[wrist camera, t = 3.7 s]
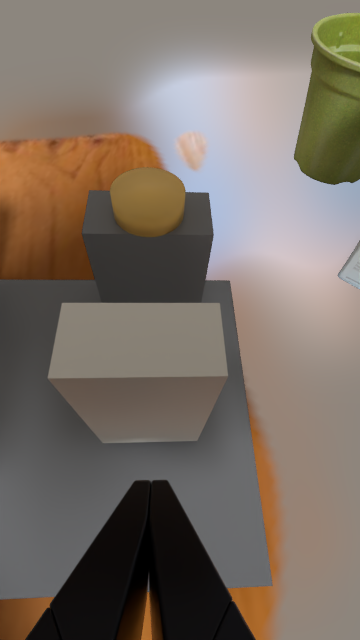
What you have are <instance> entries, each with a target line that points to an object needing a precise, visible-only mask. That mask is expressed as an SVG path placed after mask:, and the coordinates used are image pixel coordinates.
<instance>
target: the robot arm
mask: <svg viewBox="0 0 360 640" xmlns="http://www.w3.org/2000/svg"><path fill="white" fill-rule="evenodd" d="M148 580H149V598H150V613H151V628H152V640H256V639H255V637H254V636H253V634H252V632H251V631H250V629H249V627H248V625H247V624H246V622H245V620H244V618H243V616H242V615H241V613H240V611H239V609H238V607H237V605H236V604H235V602H234V601H232V597H231V595H230V593H229V591H228V589H227V588H226V586H225V584H224V582H223V580H222V578H221V577H220V575H219V573H218V571H217V569H216V567H215V566H214V564H213V562H212V560H211V558H210V556H209V554H208V553H207V551H206V549H205V547H204V545H203V543H202V542H201V540H200V538H199V536H198V534H197V532H196V531H195V529H194V527H193V525H192V523H191V521H190V520H189V518H188V516H187V514H186V512H185V510H184V509H183V507H182V505H181V503H180V501H179V499H178V498H177V496H176V494H175V492H174V490H173V488H172V487H171V485H170V483H169V481H168V480H153V481H152V482H151V481H150V480H135V481H134V482H133V483H132V485H131V486H130V488H129V489H128V491H127V492H126V494H125V495H124V497H123V498H122V499H121V501H120V502H119V504H118V505H117V507H116V508H115V510H114V511H113V513H112V514H111V516H110V517H109V518H108V520H107V521H106V523H105V524H104V526H103V527H102V529H101V530H100V532H99V533H98V535H97V536H96V537H95V539H94V540H93V542H92V543H91V545H90V546H89V548H88V549H87V551H86V552H85V554H84V555H83V556H82V558H81V559H80V561H79V562H78V564H77V565H76V567H75V568H74V570H73V571H72V573H71V574H70V575H69V577H68V578H67V580H66V581H65V583H64V584H63V586H62V587H61V589H60V590H59V592H58V593H57V594H56V596H55V597H54V599H53V600H52V602H51V603H50V608H47V609H46V610H45V612H44V613H43V615H42V616H41V618H40V619H39V621H38V622H37V623H36V625H35V626H34V628H33V629H32V631H31V632H30V634H29V635H28V636H27V638H26V639H25V640H141V636H142V629H143V621H144V614H145V607H146V600H147V592H148Z"/></svg>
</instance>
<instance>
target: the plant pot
mask: <svg viewBox="0 0 360 640" xmlns="http://www.w3.org/2000/svg"><path fill="white" fill-rule="evenodd" d="M311 40H312V42H313V45H314V50H313V54H312V59H311V68H312V73H311V78H310V83H309V88H308V93H307V98H306V103H305V107H304V112H303V117H302V121H301V126H300V131H299V135H298V140H297V144H296V149H295V154H294V159H295V160H296V161H297V162H298V164H299V167H300V169H301V171H302V172H303V173H304V174H306V175H307V176H309V177H311V178H312V179H315V180H317V181H320V182H323V183H327V184H333V185H335V184H339V183H342V182H350V183H353V182H355V181H357V180H359V179H360V13H346V14H339V15H334V16H329V17H326V18H324V19H322V20H320V21H319V22H317V23H316V24H315V25H314V27H313V30H312V34H311Z"/></svg>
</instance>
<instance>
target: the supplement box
mask: <svg viewBox="0 0 360 640" xmlns="http://www.w3.org/2000/svg"><path fill="white" fill-rule="evenodd" d="M338 277H339V278H341V279H342V280H344V281H346V282H348V283H349V284H351V285H353V286H355V287H357V288H358V289H360V241H359V243H358V244H357V246H356V248H355V249H354V251H353V252H352V254H351V255H350V257H349V259H348V260H347V262H346V263H345V265H344V266H343V268H342V269H341V271H340V272H339V274H338Z"/></svg>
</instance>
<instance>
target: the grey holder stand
mask: <svg viewBox="0 0 360 640" xmlns="http://www.w3.org/2000/svg"><path fill="white" fill-rule="evenodd" d="M82 236H83V240H84V243H85V247H86V250H87V254H88V257H89V260H90V264H91V267H92V271H93V274H94V278H95V280H0V599H19V598H39V597H55V596H56V594H57V593H58V592H59V590H60V589H61V587H62V586H63V584H64V583H65V581H66V580H67V578H68V577H69V575H70V574H71V573H72V571H73V570H74V568H75V567H76V565H77V564H78V562H79V561H80V559H81V558H82V556H83V555H84V554H85V552H86V551H87V549H88V548H89V546H90V545H91V543H92V542H93V540H94V539H95V537H96V536H97V535H98V533H99V532H100V530H101V529H102V527H103V526H104V524H105V523H106V521H107V520H108V518H109V517H110V516H111V514H112V513H113V511H114V510H115V508H116V507H117V505H118V504H119V502H120V501H121V499H122V498H123V497H124V495H125V494H126V492H127V491H128V489H129V488H130V486H131V485H132V483H133V482H134V481H135V480H150V481H151V482H152V481H153V480H168V481H169V483H170V485H171V487H172V488H173V490H174V492H175V494H176V496H177V498H178V499H179V501H180V503H181V505H182V507H183V509H184V510H185V512H186V514H187V516H188V518H189V520H190V521H191V523H192V525H193V527H194V529H195V531H196V532H197V534H198V536H199V538H200V540H201V542H202V543H203V545H204V547H205V549H206V551H207V553H208V554H209V556H210V558H211V560H212V562H213V564H214V566H215V567H216V569H217V571H218V573H219V575H220V577H221V578H222V580H223V582H224V584H225V586H226V588H239V587H259V586H273V585H272V578H271V571H270V564H269V557H268V549H267V542H266V535H265V528H264V521H263V514H262V507H261V500H260V492H259V485H258V478H257V471H256V464H255V457H254V450H253V442H252V435H251V428H250V421H249V414H248V407H247V400H246V393H245V385H244V378H243V371H242V364H241V357H240V350H239V343H238V335H237V328H236V321H235V314H234V307H233V300H232V293H231V286H230V281H206V280H205V279H206V274H207V268H208V263H209V258H210V252H211V246H212V241H213V226H212V218H211V209H210V200H209V193H194V192H192V193H191V192H185V187H184V184H183V183H182V181H181V180H180V179H179V178H178V177H177V176H175V175H174V174H172V173H170V172H168V171H165V170H162V169H158V168H137V169H133V170H129V171H127V172H125V173H123V174H121V175H120V176H118V177H117V178H116V179H115V180H114V182H113V183H112V185H111V188H110V191H93V190H89V195H88V201H87V206H86V212H85V218H84V223H83V229H82ZM62 303H220V309H221V318H222V327H223V335H224V344H225V353H226V361H227V370H228V378H227V380H226V382H225V384H224V386H223V388H222V390H221V392H220V394H219V396H218V399H217V401H216V403H215V405H214V407H213V409H212V411H211V413H210V415H209V417H208V419H207V421H206V424H205V426H204V428H203V430H202V432H201V434H200V436H199V438H198V440H197V441H173V442H131V443H102V442H101V440H100V439H99V438H98V437H97V436H96V435H95V433H94V432H93V431H92V430H91V429H90V428H89V426H88V425H87V424H86V423H85V422H84V421H83V419H82V418H81V417H80V416H79V415H78V414H77V412H76V411H75V410H74V409H73V408H72V407H71V405H70V404H69V403H68V402H67V401H66V400H65V398H64V397H63V396H62V395H61V394H60V392H59V391H58V390H57V389H56V388H55V387H54V385H53V384H52V383H51V382H50V381H49V380H48V373H49V368H50V363H51V358H52V353H53V347H54V342H55V337H56V332H57V326H58V321H59V316H60V311H61V305H62ZM148 592H149V580H148Z"/></svg>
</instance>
